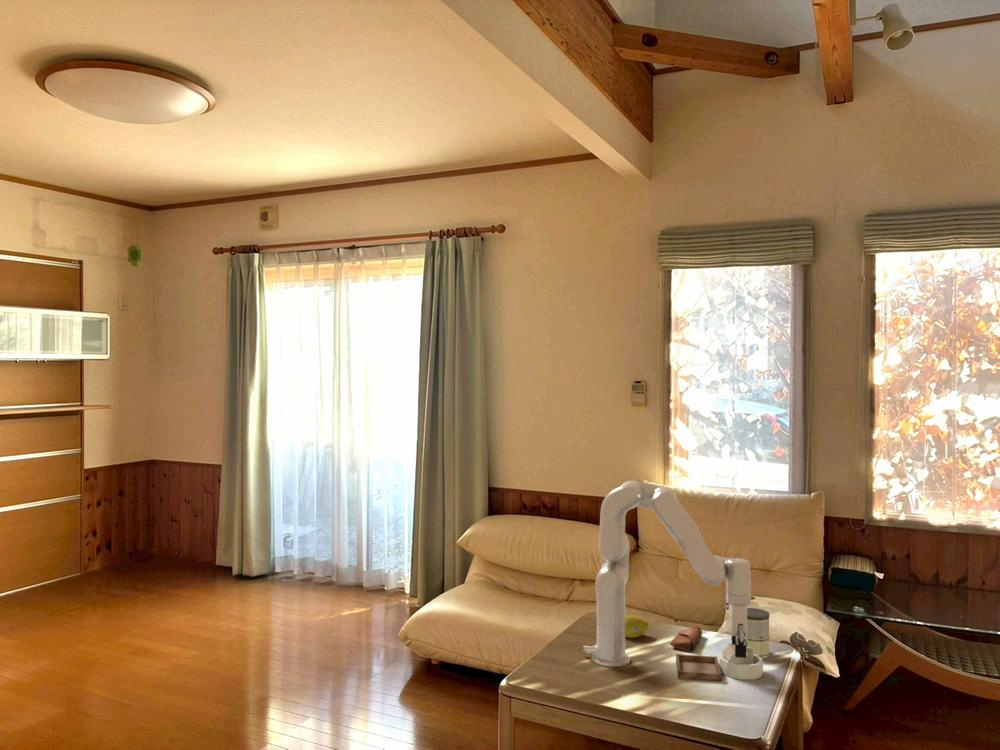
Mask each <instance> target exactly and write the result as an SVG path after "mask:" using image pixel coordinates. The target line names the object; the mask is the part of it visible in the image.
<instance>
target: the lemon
mask: <svg viewBox="0 0 1000 750" xmlns="http://www.w3.org/2000/svg"><path fill="white" fill-rule="evenodd" d="M648 628H649V622H648V621H646V620H644V619H643V618H642V617H640V616H638V615H632V614H631V615H625V638H626V639H627V638H628V639H637V637H638V638H640V637H641V636H643V635H644V634H645V632H646V631H647V630H648Z"/></svg>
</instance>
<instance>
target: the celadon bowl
mask: <svg viewBox="0 0 1000 750" xmlns="http://www.w3.org/2000/svg"><path fill="white" fill-rule="evenodd" d="M753 656H754V664H749V665H746V664H740V663H734V662H728V661H727V659H726V658H725V656H724V655H723V653H722V652H721V653H720V654H719V660H718V663H719V667H720V670H721V674H722V675H724V676H725V677H728V678H731V679H736V680H740V681H741V680H742V681H752V680H759V679H760V678H762V676H763V673H764V661H763V658H761V657H759V656H757V655H755V654H753Z"/></svg>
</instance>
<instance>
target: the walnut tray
mask: <svg viewBox="0 0 1000 750" xmlns="http://www.w3.org/2000/svg"><path fill="white" fill-rule="evenodd" d="M675 664H676V672H677V679H680V680H681V679H682V680H692V681H694V680H695V681H708V682H719V683H720V682H723V679H722V678H723V677H722V675H723V674H722V673H721V670H720V666H719V660H718V656H712V655H699V654H698V655H696V654H680V653H675Z"/></svg>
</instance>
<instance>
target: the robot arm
mask: <svg viewBox="0 0 1000 750" xmlns="http://www.w3.org/2000/svg"><path fill="white" fill-rule="evenodd" d="M637 507H640V508H646V509H648V510H652V511H653V513H654V514H655V515H656V516H657V518H658V519H659V520H660V522H661V523H662V525H664V527H665V528H666V529H667V531H668V532H669V534H670V535H671V536H672V538H673V539H674V541H675V542H676V544H677V545H678V547H679V549H680V550H681V552H683V554H684V556H685V557H686V559H687V560H688V562H689V563H690V565H691V566H692V568H693V569H694V570H695V571H696V572H697V574H698V575H699V577H700V578H701V579H702V580H703V582H705V583H706V584H708V585H711V586H718V585H721V584H722V583H723V582H724V581H725V583H726V584H725V590H726V591H725V592H726V593H725V598H726V600H725V602H726V603H727V604H728V625H727V626H728V627H727V628H728V631H729V634H730V636H731V644H734V645H735V656H736V657H738V658H746V642H745V637H746V636H747V608H748V606H750V605H752V592H751V591H752V586H751V583H752V582H751V581H752V580H751V579H752V577H751V570H752V569H751V567H752V566H751V562H750V561H749V560H747V559H745V558H739V557H735V558H734V557H732V558H729V557H725V556H720V555H714V554H713V553H712V551H711V550H710V549H709V547H708V545H707V544H706V542H705V540H704V538H703V537H702V534H701V531H700V529H699V527H698V525H697V523H696V522H695V521H694V520H693V518H692V517H691V516H690V515H689V513H688V512H687V511H686V510H685V508H684V507H683V505H682V504H681V502H679V498H678V495H677V493H676V492H675V491H674V490H673V489H671V488H669V487H666V486H662V485H657V484H653V483H647V482H643V481H638V480H628V481H625V482H623V483H622V484H621V485H619V486H618V487H616V488H615V489H613V490H611V491H610V492H609V493H607V494H606V496H605V497H604V499H603V500H602V503H601V506H600V512H599V513H600V516H599V532H598V534H599V535H598V545H597V546H598V547H597V548H598V553H599V555H600V556H601V568H600V569H599V570H598V572H597V574H596V578H595V596H596V643H595V644H594V645H592V646H591V645H590V646H589V645H583V646H582V647H583V652H584V653H585V652H586V654H589V655H590V654H591V661H592V662H593V663H595V664H596V665H599V666H604V667H610V668H617V667H623V666H626V665H628V664H630V662H631V657H630V656H629V655H628V654H627V653H626V637H625V617H626V594H625V593H626V591H625V590H626V584H627V581H628V579H629V574H630V572H629V571H630V569H629V567H630V541H629V537H628V535H627V534H626V514H627V513H628V511H630V510H632V509H635V508H637Z"/></svg>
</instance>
